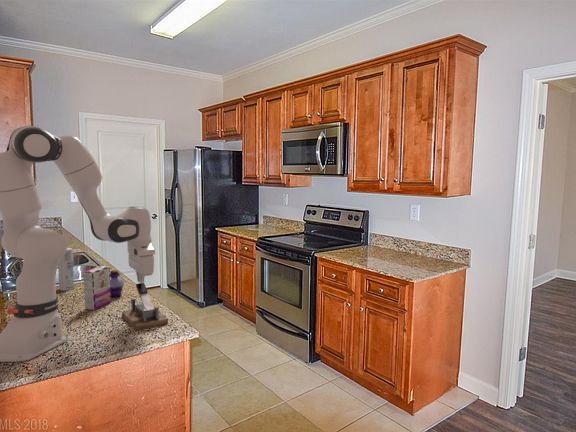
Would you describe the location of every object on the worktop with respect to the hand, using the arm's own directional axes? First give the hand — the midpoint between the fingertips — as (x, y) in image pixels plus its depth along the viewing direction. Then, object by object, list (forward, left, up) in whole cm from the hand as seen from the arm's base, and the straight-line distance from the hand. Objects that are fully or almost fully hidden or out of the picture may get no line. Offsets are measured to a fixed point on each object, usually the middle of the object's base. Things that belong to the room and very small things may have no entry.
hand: (140, 282), depth 154 cm
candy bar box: (+11, +24, -15) cm, 30 cm away
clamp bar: (-4, -3, -5) cm, 7 cm away
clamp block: (-3, -3, -12) cm, 13 cm away
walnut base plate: (-3, -3, -14) cm, 15 cm away
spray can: (+33, +53, -15) cm, 64 cm away
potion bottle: (+25, +24, -15) cm, 38 cm away
